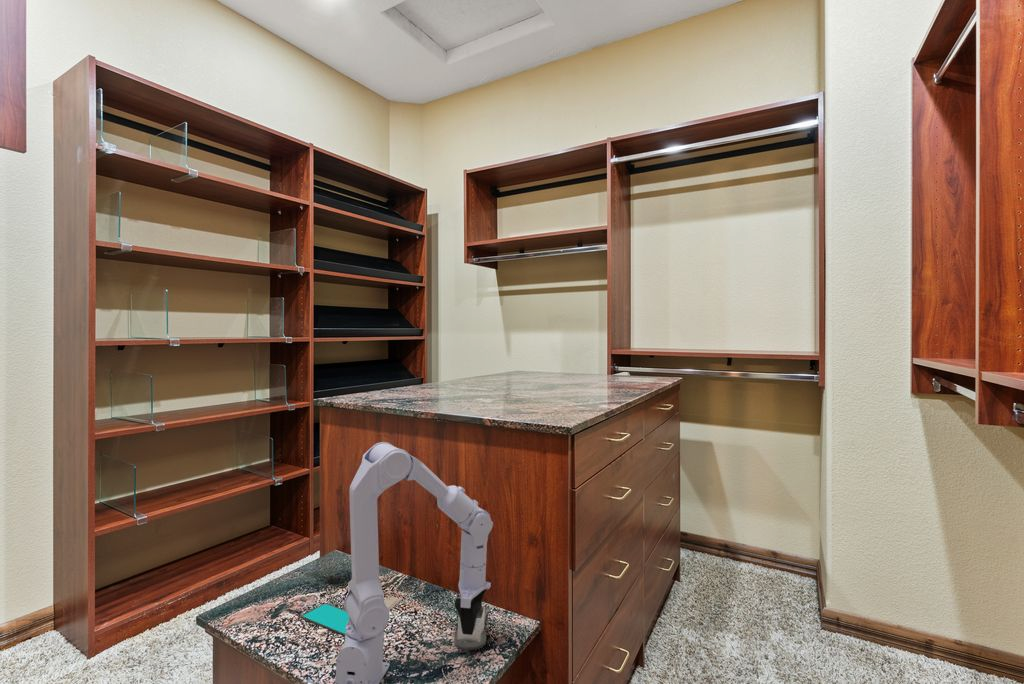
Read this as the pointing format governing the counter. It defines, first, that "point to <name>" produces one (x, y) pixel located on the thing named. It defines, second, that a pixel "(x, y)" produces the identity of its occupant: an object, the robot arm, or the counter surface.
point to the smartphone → (328, 618)
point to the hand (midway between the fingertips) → (470, 625)
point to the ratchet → (470, 644)
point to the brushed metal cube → (477, 628)
